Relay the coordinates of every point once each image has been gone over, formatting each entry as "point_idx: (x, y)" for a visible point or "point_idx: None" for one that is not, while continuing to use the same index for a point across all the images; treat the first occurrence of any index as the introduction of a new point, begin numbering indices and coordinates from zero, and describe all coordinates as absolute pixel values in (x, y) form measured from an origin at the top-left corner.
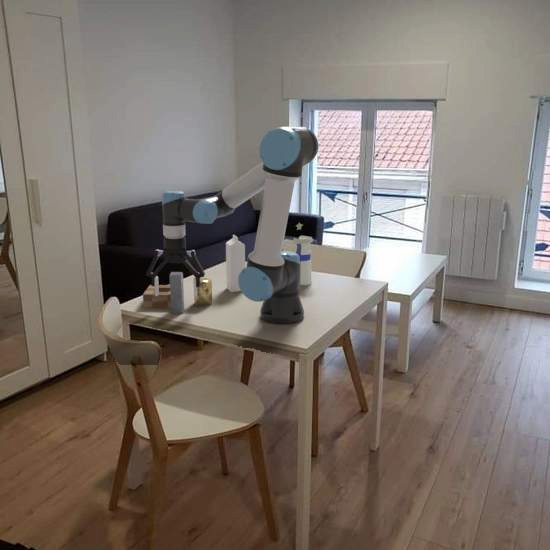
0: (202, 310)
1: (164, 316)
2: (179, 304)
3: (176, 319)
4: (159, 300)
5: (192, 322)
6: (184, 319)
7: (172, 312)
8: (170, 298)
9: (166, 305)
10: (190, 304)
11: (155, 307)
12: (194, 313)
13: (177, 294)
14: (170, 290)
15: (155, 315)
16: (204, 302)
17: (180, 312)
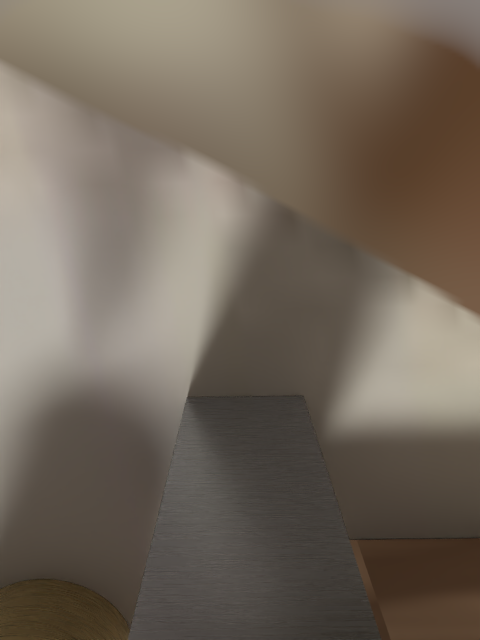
0: (9, 481)
1: (360, 305)
2: (208, 450)
3: (215, 213)
4: (469, 603)
5: (10, 113)
6: (126, 215)
7: (290, 400)
8: None
9: (376, 557)
10: None
11: (476, 540)
12: (65, 399)
13: (225, 552)
14: (367, 618)
15: (458, 333)
16: (1, 617)
17: (207, 401)
